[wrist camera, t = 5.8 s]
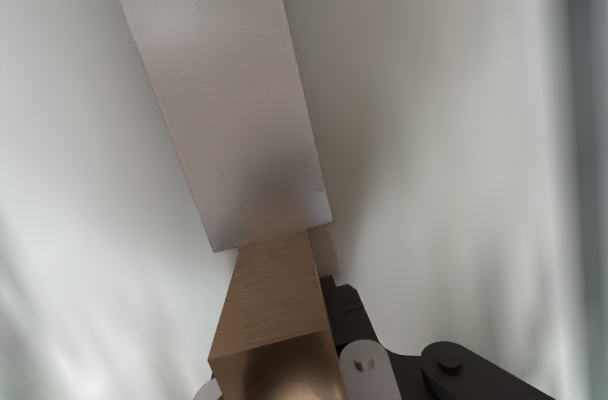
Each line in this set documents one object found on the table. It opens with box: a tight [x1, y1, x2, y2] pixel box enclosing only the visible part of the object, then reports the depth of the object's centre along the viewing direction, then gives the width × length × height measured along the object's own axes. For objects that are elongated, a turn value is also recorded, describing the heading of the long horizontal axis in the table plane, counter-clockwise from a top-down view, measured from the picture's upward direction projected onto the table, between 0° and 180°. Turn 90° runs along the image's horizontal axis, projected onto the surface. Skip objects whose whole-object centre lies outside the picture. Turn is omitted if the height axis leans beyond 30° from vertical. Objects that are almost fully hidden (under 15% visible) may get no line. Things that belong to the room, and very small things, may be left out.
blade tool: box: [119, 0, 348, 400], centre depth 7 cm, size 22×7×6 cm, turn 14°
